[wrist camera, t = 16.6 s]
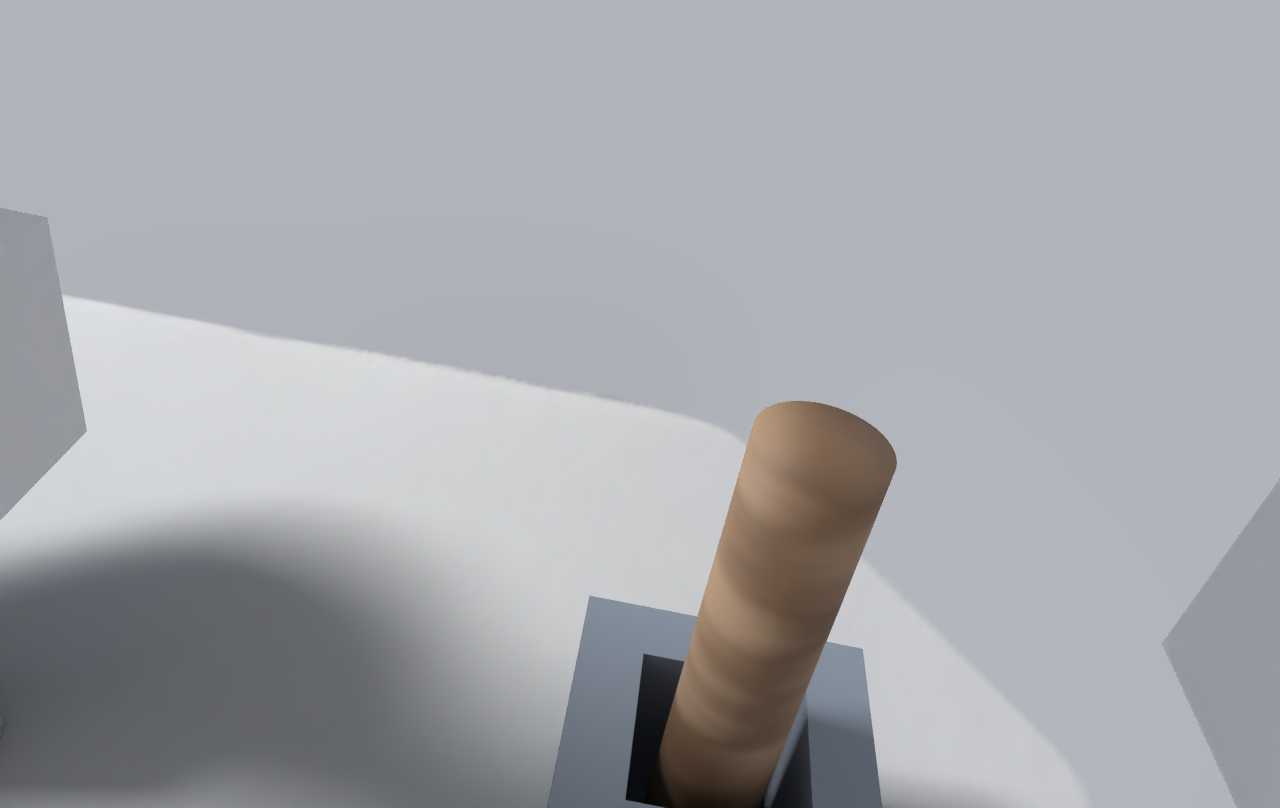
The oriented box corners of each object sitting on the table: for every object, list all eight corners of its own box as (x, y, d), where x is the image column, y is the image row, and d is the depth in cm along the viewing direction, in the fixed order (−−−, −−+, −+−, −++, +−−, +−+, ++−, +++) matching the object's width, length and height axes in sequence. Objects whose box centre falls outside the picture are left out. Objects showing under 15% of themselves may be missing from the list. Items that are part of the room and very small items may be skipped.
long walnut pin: (618, 921, 37) (752, 473, 25) (629, 826, 40) (753, 390, 28) (721, 941, 37) (905, 503, 25) (724, 844, 40) (887, 416, 28)
